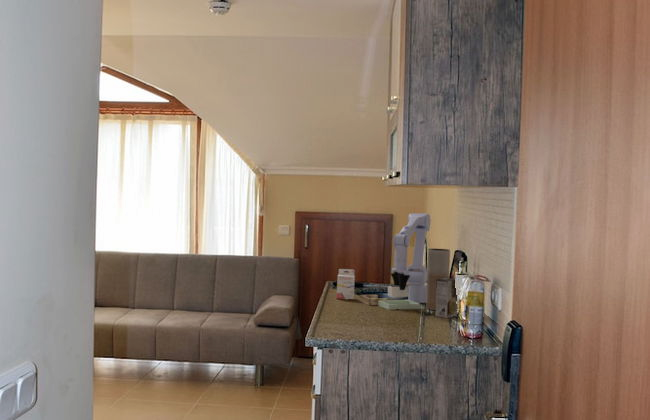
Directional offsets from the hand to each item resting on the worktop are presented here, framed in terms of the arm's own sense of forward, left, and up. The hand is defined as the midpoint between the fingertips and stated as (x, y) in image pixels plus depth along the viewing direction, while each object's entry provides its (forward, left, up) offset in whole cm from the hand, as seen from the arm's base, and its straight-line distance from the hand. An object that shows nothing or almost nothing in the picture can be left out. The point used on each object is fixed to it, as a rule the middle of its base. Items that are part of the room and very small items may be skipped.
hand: (399, 289), depth 294 cm
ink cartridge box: (+16, -29, -9) cm, 34 cm away
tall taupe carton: (-16, +7, -9) cm, 20 cm away
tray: (0, 0, -8) cm, 8 cm away
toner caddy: (+1, 0, -3) cm, 3 cm away
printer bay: (+7, -14, -8) cm, 18 cm away
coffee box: (-11, +25, -9) cm, 29 cm away
